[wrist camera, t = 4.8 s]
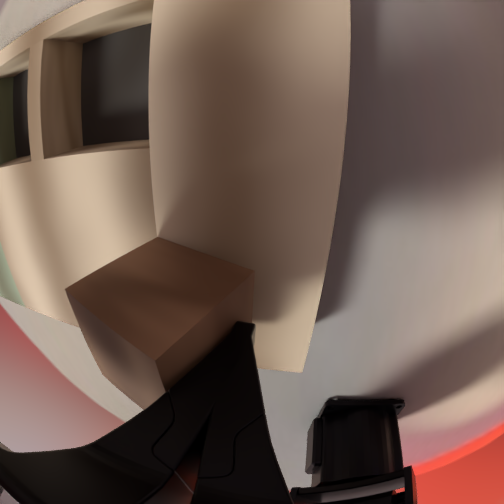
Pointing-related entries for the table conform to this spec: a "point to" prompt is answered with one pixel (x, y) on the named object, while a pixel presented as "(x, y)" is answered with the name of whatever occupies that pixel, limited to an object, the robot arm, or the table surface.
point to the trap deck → (177, 148)
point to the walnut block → (159, 314)
